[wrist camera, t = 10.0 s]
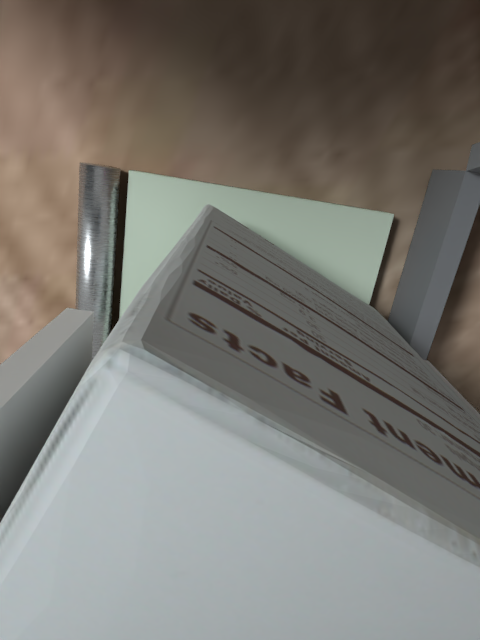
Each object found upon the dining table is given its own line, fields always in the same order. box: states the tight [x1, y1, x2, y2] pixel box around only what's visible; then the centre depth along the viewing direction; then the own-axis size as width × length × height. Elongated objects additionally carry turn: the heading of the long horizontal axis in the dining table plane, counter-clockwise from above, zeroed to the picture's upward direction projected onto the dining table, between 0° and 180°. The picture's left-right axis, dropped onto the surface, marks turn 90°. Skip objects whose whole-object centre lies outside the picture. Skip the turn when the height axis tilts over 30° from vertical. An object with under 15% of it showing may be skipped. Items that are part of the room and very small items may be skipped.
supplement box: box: [0, 204, 480, 640], centre depth 10 cm, size 7×7×13 cm
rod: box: [76, 163, 120, 360], centre depth 17 cm, size 1×10×1 cm, turn 171°
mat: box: [119, 170, 394, 319], centre depth 18 cm, size 10×10×1 cm
